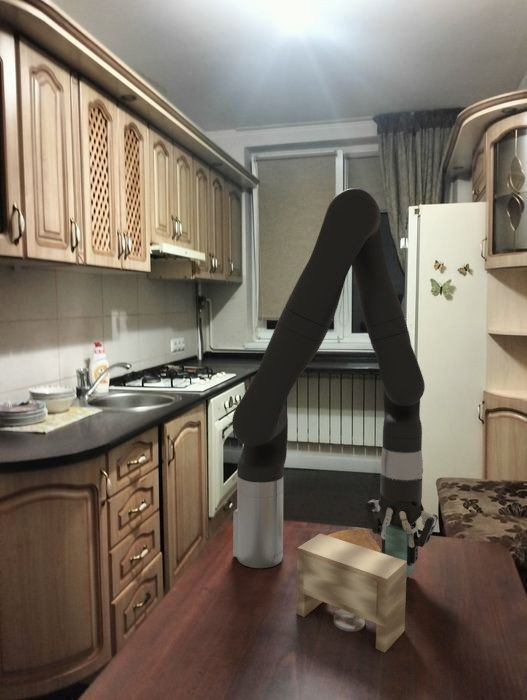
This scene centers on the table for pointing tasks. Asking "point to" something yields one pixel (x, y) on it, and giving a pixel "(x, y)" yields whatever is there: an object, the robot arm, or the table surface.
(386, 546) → the two-colour block
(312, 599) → the wooden arch block
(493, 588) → the table surface
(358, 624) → the disc
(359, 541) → the pottery shard
